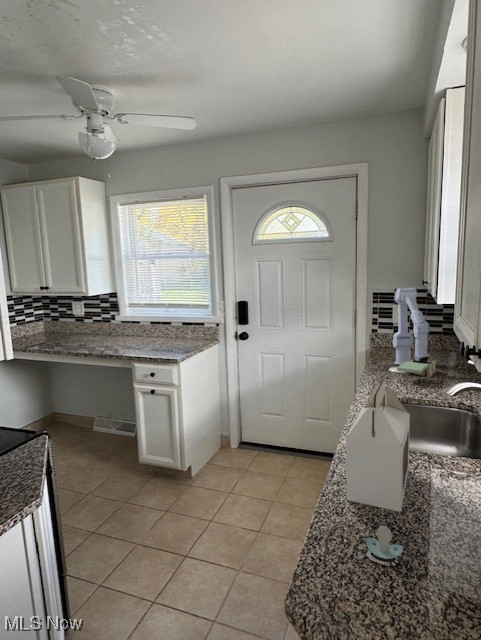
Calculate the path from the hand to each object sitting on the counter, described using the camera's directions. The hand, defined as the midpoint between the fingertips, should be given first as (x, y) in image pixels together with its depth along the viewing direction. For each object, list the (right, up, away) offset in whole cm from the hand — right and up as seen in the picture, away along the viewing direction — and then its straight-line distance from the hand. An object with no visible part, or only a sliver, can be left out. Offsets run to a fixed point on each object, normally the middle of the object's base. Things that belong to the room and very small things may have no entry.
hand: (420, 371), depth 214 cm
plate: (-8, -1, +8) cm, 12 cm away
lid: (-9, +3, -11) cm, 15 cm away
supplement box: (-46, -13, -68) cm, 83 cm away
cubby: (+1, -1, +1) cm, 2 cm away
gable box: (-56, -19, -102) cm, 118 cm away
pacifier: (-65, -23, -129) cm, 146 cm away
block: (0, -1, 0) cm, 1 cm away
